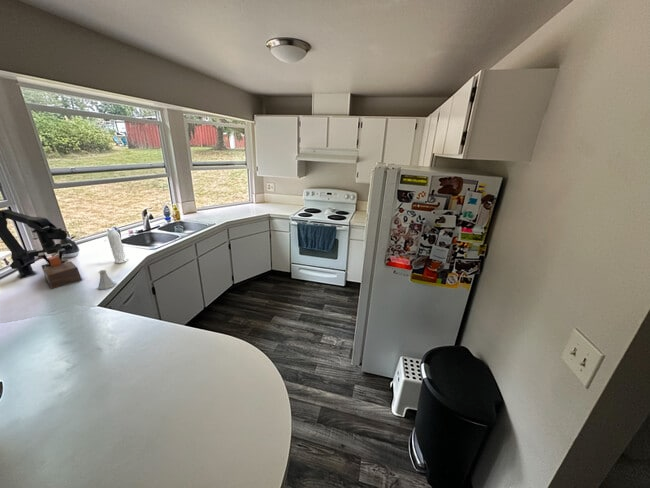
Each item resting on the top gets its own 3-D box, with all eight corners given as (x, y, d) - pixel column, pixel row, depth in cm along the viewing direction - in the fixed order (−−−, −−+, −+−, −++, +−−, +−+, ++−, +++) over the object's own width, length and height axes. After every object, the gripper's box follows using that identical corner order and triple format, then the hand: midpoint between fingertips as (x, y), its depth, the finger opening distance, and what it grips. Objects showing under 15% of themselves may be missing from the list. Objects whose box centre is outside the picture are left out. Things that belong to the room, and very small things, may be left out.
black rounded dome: (83, 255, 186) (77, 236, 181) (64, 260, 178) (57, 240, 173) (78, 252, 191) (72, 233, 186) (60, 256, 183) (52, 237, 178)
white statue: (116, 260, 179) (106, 227, 171) (127, 258, 183) (118, 226, 174) (113, 265, 172) (103, 230, 164) (125, 263, 176) (116, 229, 167)
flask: (105, 290, 142) (100, 274, 139) (95, 288, 143) (90, 273, 140) (118, 284, 149) (113, 269, 145) (108, 282, 150) (103, 267, 147)
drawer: (43, 273, 157) (39, 263, 155) (68, 267, 166) (65, 257, 164) (49, 281, 148) (45, 271, 145) (75, 274, 156) (72, 265, 154)
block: (50, 264, 154) (47, 257, 153) (60, 262, 158) (57, 255, 156) (51, 266, 152) (48, 259, 150) (61, 264, 155) (59, 257, 154)
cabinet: (47, 280, 150) (41, 268, 147) (75, 273, 160) (70, 261, 157) (52, 288, 142) (47, 275, 140) (81, 280, 152) (77, 267, 149)
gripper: (24, 246, 138) (35, 271, 143) (71, 238, 152) (79, 261, 157) (21, 242, 144) (32, 266, 149) (66, 234, 158) (74, 257, 163)
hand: (55, 262), depth 155 cm, fingers closed on block, 4 cm apart
